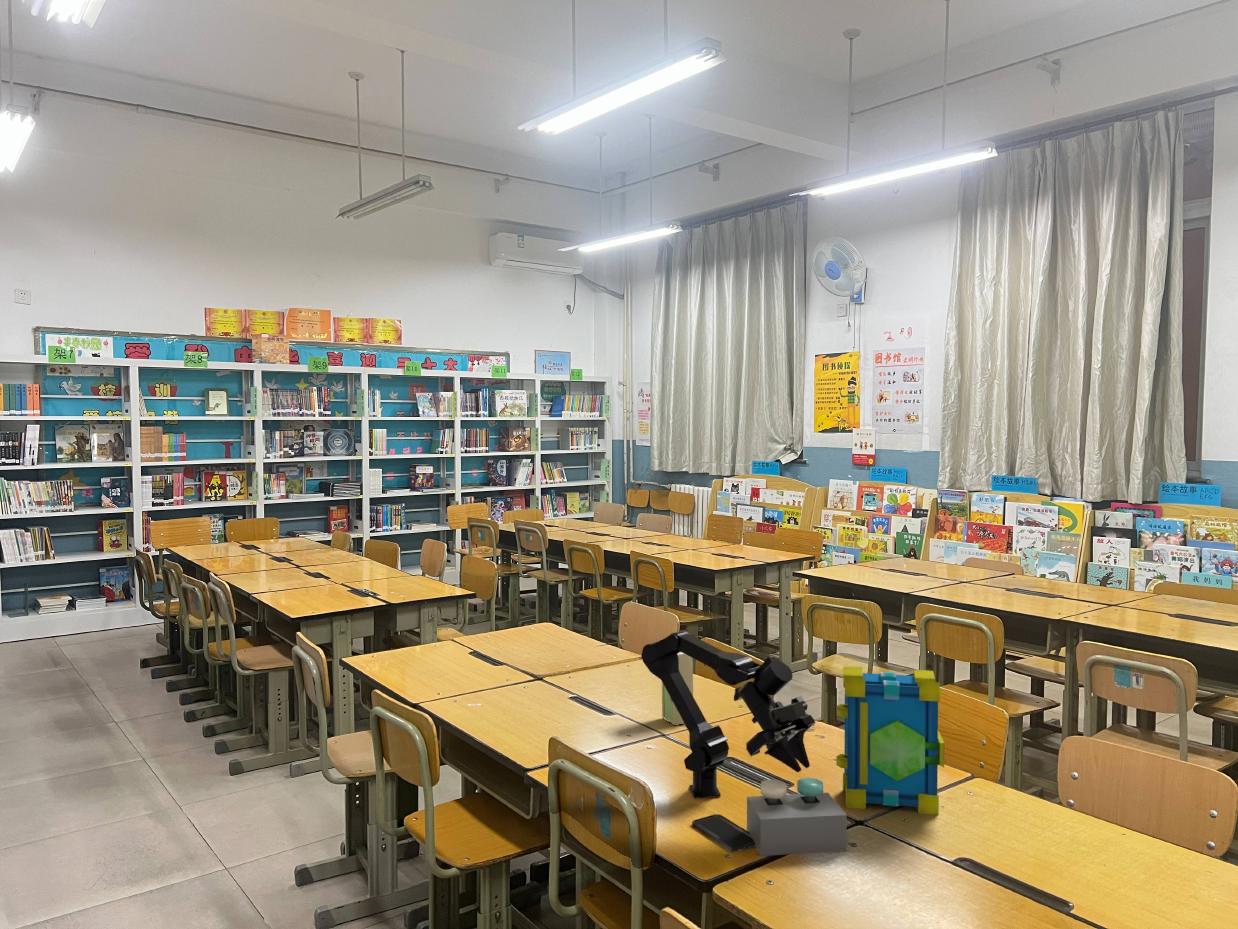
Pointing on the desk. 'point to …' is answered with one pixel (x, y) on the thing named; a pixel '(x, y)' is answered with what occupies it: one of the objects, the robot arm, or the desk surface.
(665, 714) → the toy refrigerator
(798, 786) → the teal button
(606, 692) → the desk surface
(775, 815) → the button box
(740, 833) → the phone
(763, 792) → the cream button
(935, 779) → the decorative book
